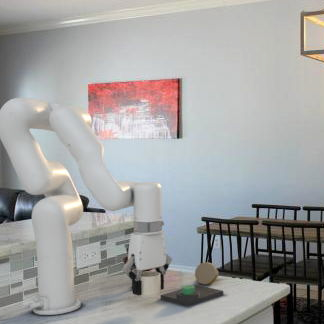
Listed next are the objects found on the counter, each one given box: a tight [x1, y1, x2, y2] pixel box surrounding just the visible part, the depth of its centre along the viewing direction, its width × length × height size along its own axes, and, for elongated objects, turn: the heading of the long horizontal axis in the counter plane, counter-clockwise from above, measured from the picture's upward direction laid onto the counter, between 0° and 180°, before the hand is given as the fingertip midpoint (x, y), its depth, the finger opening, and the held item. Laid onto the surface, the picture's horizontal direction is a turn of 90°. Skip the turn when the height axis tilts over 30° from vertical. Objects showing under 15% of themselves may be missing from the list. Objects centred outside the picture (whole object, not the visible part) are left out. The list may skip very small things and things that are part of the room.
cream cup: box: [137, 270, 162, 298], centre depth 149 cm, size 7×7×6 cm
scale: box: [159, 284, 224, 307], centre depth 159 cm, size 15×13×3 cm
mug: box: [194, 261, 219, 286], centre depth 176 cm, size 8×10×10 cm
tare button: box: [181, 284, 195, 295], centre depth 153 cm, size 4×4×2 cm
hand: (148, 291), depth 149 cm, fingers closed on cream cup, 6 cm apart
